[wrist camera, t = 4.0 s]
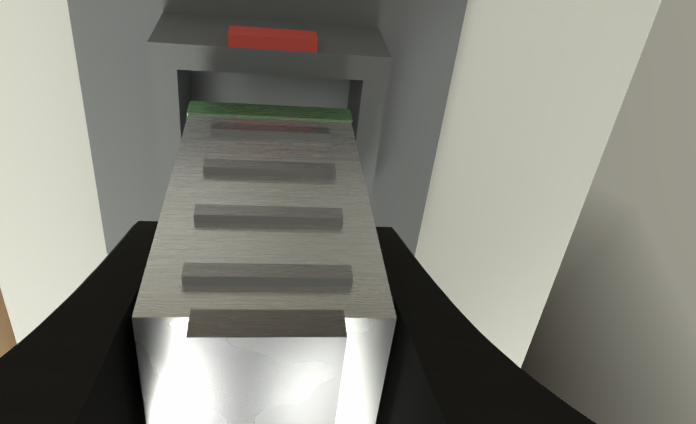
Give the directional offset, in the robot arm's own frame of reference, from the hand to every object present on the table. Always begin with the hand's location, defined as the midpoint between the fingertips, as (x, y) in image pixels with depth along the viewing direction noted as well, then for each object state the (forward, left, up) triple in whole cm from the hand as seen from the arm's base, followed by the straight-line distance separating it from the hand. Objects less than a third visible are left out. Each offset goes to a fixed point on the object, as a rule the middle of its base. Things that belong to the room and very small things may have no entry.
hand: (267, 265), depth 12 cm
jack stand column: (0, 0, -3) cm, 3 cm away
